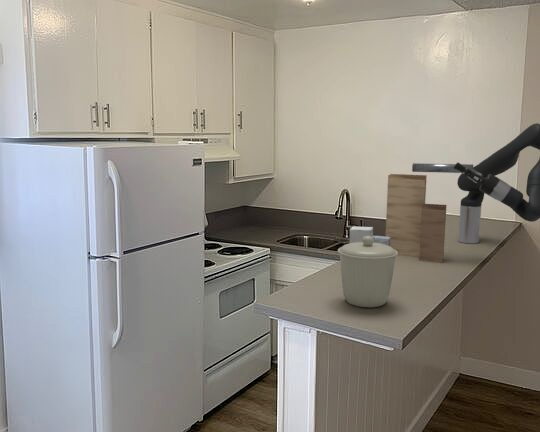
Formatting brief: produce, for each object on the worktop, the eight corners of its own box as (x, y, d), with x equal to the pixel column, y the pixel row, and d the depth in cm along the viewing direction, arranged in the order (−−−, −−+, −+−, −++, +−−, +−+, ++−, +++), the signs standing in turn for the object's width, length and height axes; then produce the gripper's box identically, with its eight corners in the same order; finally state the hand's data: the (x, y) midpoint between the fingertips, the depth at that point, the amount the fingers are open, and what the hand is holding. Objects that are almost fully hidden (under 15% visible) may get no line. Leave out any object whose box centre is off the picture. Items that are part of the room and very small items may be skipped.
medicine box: (390, 257, 232) (390, 236, 231) (387, 259, 228) (388, 238, 227) (371, 255, 235) (372, 235, 234) (368, 257, 231) (369, 237, 230)
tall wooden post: (420, 256, 233) (423, 203, 229) (443, 258, 230) (446, 204, 226) (419, 260, 227) (421, 205, 223) (442, 262, 224) (445, 207, 220)
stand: (387, 250, 245) (390, 173, 240) (422, 252, 240) (426, 175, 235) (384, 253, 239) (388, 175, 233) (420, 256, 234) (425, 176, 228)
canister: (403, 311, 165) (406, 241, 162) (343, 313, 164) (345, 242, 160) (385, 293, 183) (388, 230, 179) (331, 294, 181) (333, 230, 178)
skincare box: (372, 266, 217) (374, 226, 215) (370, 270, 211) (371, 230, 209) (351, 264, 220) (352, 225, 217) (348, 268, 214) (349, 228, 211)
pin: (412, 171, 227) (413, 163, 227) (472, 172, 220) (473, 164, 219) (412, 172, 224) (412, 163, 224) (472, 173, 217) (473, 164, 216)
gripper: (500, 177, 222) (461, 155, 225) (501, 181, 209) (460, 157, 212) (488, 193, 224) (450, 171, 228) (489, 198, 211) (449, 174, 214)
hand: (455, 164), depth 220 cm, fingers closed on pin, 3 cm apart
